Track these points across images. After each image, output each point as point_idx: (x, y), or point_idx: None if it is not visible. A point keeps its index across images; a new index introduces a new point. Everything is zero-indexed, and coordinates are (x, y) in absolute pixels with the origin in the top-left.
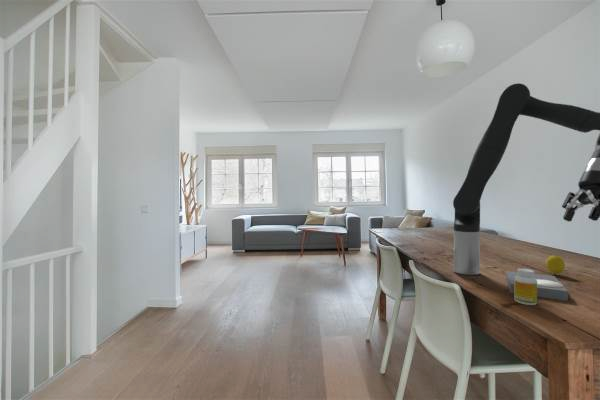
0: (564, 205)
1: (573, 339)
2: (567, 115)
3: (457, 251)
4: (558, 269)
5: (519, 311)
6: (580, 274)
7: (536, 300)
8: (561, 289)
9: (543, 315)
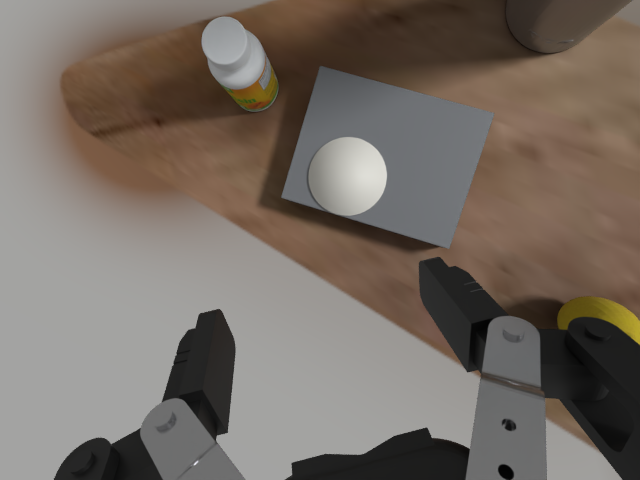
0: (588, 340)
1: (70, 90)
2: None
3: None
4: (559, 319)
5: (187, 47)
6: None
7: (236, 102)
8: (294, 188)
9: (175, 91)
